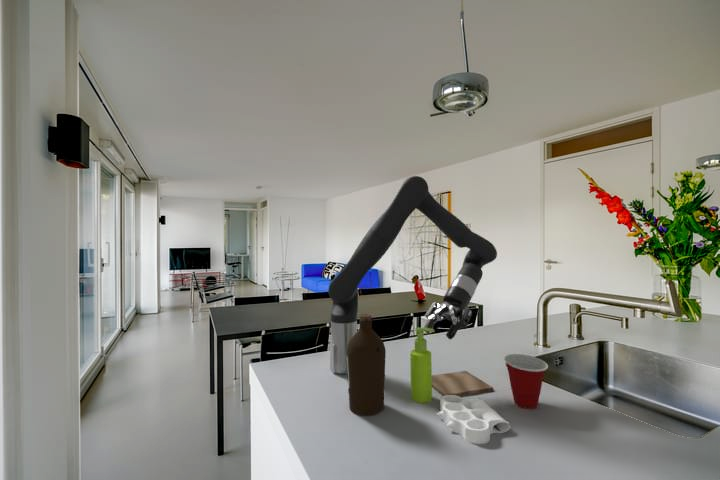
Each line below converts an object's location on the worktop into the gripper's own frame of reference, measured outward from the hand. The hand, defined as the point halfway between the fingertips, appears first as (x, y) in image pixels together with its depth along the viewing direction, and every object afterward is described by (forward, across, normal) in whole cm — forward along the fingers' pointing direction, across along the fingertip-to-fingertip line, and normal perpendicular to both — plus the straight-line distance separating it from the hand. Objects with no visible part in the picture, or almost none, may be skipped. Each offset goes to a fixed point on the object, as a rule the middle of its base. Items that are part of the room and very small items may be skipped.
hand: (437, 334), depth 102 cm
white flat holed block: (+18, +16, +8) cm, 25 cm away
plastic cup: (+3, +20, +21) cm, 29 cm away
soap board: (+6, 0, +18) cm, 19 cm away
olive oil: (+28, -6, -4) cm, 29 cm away
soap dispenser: (+17, 0, +8) cm, 18 cm away
